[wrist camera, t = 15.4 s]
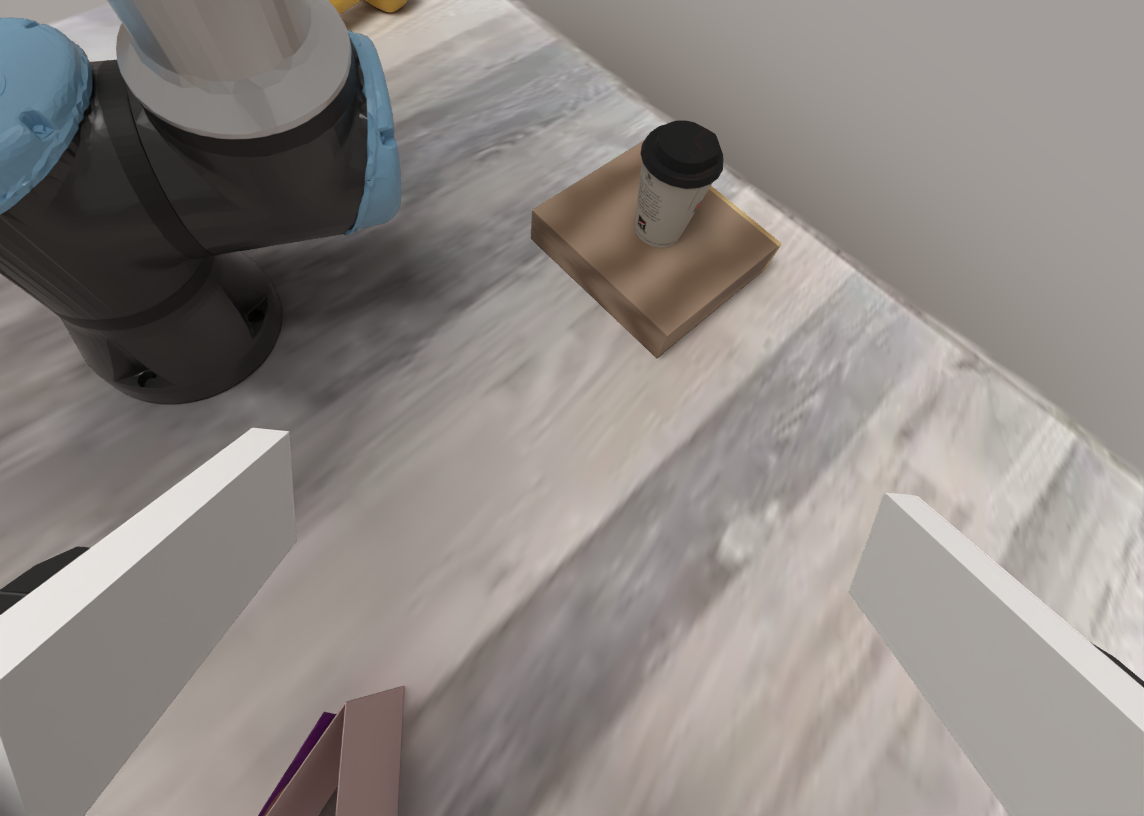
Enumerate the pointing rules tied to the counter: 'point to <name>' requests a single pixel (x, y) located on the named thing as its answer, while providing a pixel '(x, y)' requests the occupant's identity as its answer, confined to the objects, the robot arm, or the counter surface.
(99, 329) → the robot arm
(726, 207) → the brown flat square block
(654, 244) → the coffee cup
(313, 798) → the greeting card
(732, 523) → the counter surface
